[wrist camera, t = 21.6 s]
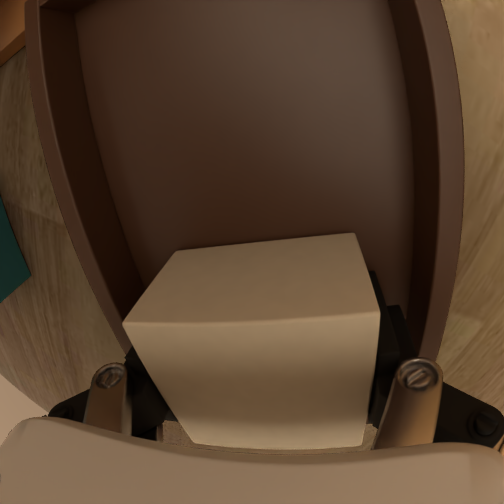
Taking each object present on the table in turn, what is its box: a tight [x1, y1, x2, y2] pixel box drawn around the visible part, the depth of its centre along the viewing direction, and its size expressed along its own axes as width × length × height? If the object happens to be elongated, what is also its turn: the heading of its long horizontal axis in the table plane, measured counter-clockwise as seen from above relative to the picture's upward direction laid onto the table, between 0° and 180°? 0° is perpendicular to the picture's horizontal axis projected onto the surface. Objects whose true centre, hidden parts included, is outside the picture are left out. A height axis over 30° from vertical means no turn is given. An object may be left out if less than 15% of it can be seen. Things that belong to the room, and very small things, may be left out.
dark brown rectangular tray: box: [24, 0, 464, 424], centre depth 9 cm, size 12×19×2 cm, turn 11°
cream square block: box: [122, 233, 380, 449], centre depth 9 cm, size 6×6×4 cm
